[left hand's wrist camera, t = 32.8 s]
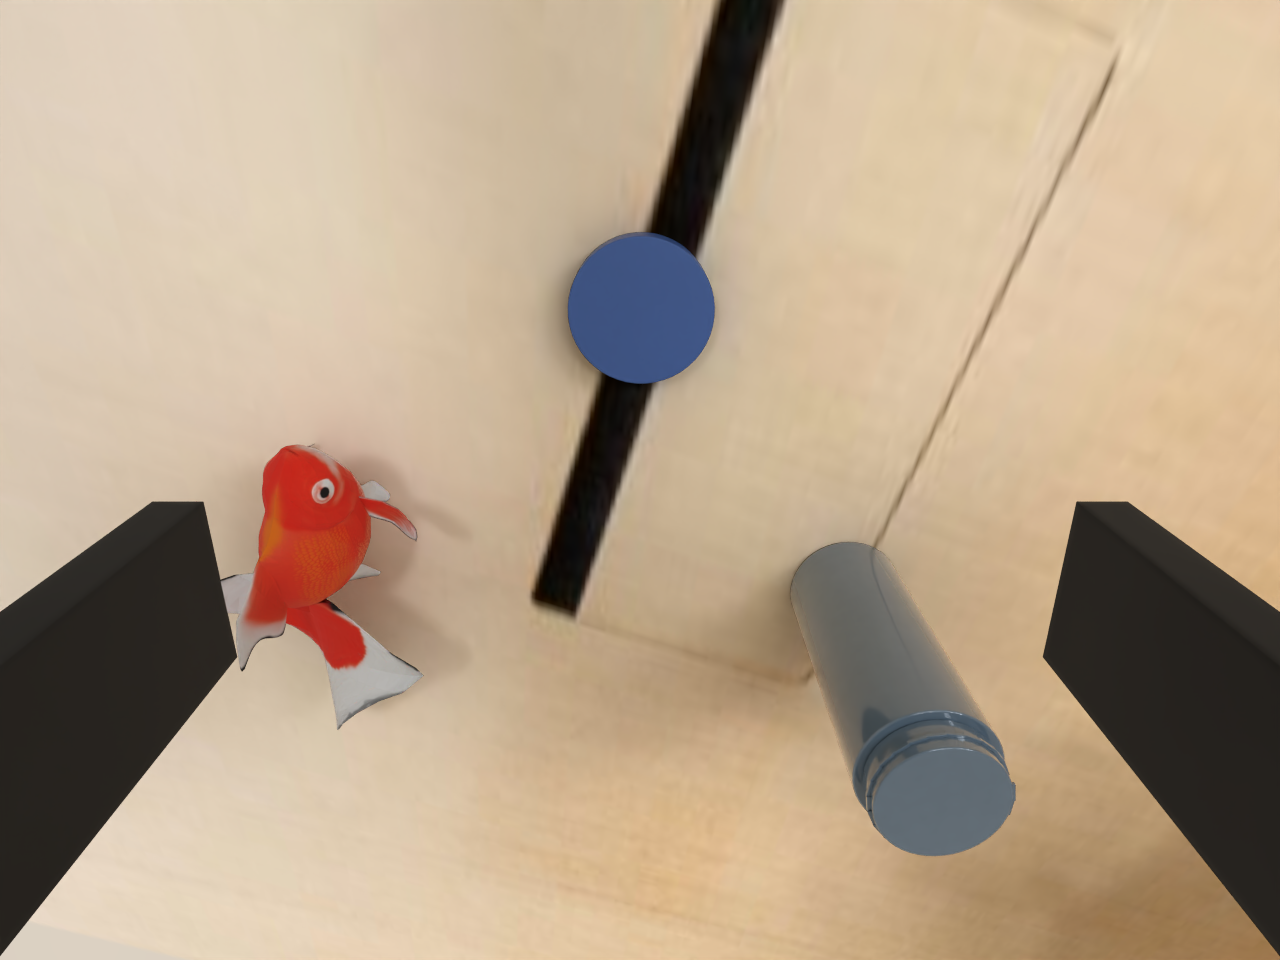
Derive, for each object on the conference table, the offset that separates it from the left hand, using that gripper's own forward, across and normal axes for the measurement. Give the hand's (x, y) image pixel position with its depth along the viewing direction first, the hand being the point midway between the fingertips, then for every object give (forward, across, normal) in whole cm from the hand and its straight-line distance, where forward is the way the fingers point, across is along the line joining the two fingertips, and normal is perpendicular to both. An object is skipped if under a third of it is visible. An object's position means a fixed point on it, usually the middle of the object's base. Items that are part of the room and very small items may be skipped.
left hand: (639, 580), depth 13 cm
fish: (+25, -14, -13) cm, 32 cm away
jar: (+25, +10, -15) cm, 31 cm away
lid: (+24, 0, 0) cm, 24 cm away
